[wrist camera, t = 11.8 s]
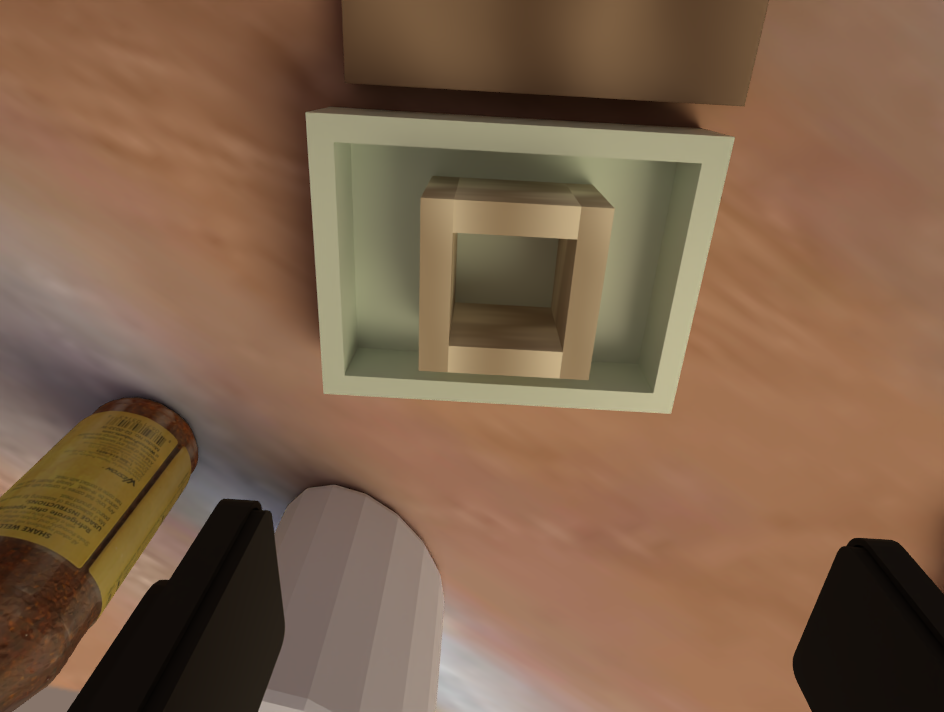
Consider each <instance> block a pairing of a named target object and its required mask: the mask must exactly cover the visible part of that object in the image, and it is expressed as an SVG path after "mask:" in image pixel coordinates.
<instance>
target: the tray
mask: <svg viewBox="0 0 944 712" xmlns="http://www.w3.org/2000/svg"><path fill="white" fill-rule="evenodd" d="M305 114H306V129H307V144H308V160H309V175H310V191H311V206H312V222H313V237H314V252H315V268H316V283H317V299H318V314H319V329H320V345H321V360H322V376H323V391H324V394H338V395H356V396H373V397H390V398H408V399H425V400H442V401H460V402H477V403H494V404H512V405H529V406H546V407H564V408H581V409H598V410H616V411H633V412H650V413H668V414H671V411H672V407H673V403H674V398H675V394H676V390H677V385H678V381H679V377H680V372H681V368H682V364H683V359H684V355H685V351H686V347H687V342H688V338H689V334H690V329H691V325H692V321H693V316H694V312H695V308H696V303H697V299H698V295H699V290H700V286H701V282H702V277H703V273H704V269H705V264H706V260H707V256H708V251H709V247H710V243H711V238H712V234H713V230H714V225H715V221H716V217H717V212H718V208H719V204H720V199H721V195H722V191H723V186H724V182H725V178H726V173H727V169H728V165H729V160H730V156H731V152H732V147H733V143H734V139H735V137H733V136H729V135H725V134H721V133H717V132H714V131H710V130H706V129H702V128H687V127H670V126H652V125H635V124H618V123H601V122H583V121H566V120H549V119H532V118H514V117H497V116H480V115H463V114H445V113H428V112H411V111H394V110H376V109H359V108H342V107H327V108H322V109H318V110H313V111H309V112H305ZM432 176H445V177H463V178H481V179H499V180H518V181H536V182H554V183H572V184H590V185H593V186H594V187H595V188H596V189H597V190H598V191H599V192H600V193H601V194H602V195H603V196H604V197H605V198H606V199H607V201H608V202H609V203H610V204H611V205H612V206H613V207H614V208H615V211H614V218H613V224H612V231H611V237H610V244H609V250H608V257H607V263H606V270H605V276H604V283H603V289H602V296H601V302H600V309H599V315H598V322H597V328H596V335H595V342H594V348H593V355H592V361H591V368H590V374H589V380H576V379H558V378H540V377H522V376H504V375H486V374H468V373H450V372H432V371H419V287H420V202H421V196H422V194H423V192H424V190H425V189H426V187H427V185H428V183H429V181H430V179H431V177H432ZM558 242H559V238H541V237H523V236H505V235H487V234H469V233H458V236H457V262H456V287H455V302H459V303H477V304H495V305H513V306H531V307H549V308H551V302H552V294H553V285H554V276H555V268H556V259H557V250H558Z"/></svg>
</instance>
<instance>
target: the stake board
mask: <svg viewBox="0 0 944 712" xmlns="http://www.w3.org/2000/svg"><path fill="white" fill-rule="evenodd" d="M768 2H769V0H342V25H343V52H344V78H345V83H351V84H368V85H385V86H402V87H420V88H437V89H454V90H471V91H489V92H506V93H523V94H540V95H558V96H575V97H592V98H609V99H626V100H644V101H661V102H678V103H695V104H713V105H730V106H745V101H746V97H747V93H748V88H749V84H750V80H751V76H752V71H753V67H754V63H755V58H756V54H757V50H758V45H759V41H760V37H761V33H762V28H763V24H764V20H765V15H766V11H767V7H768Z"/></svg>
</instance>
